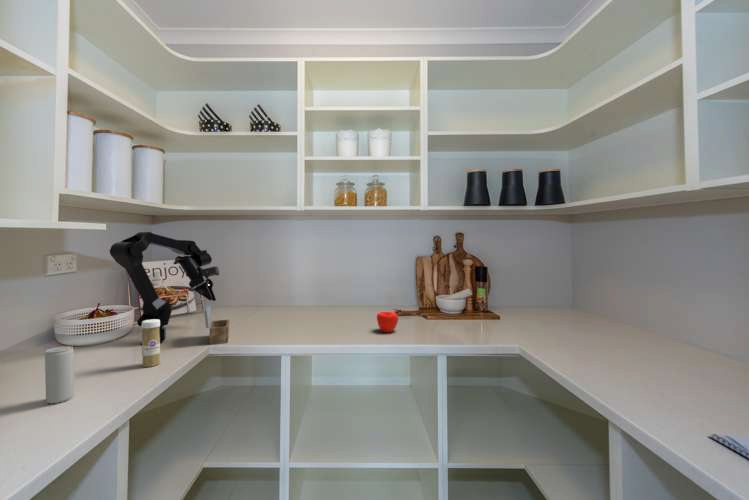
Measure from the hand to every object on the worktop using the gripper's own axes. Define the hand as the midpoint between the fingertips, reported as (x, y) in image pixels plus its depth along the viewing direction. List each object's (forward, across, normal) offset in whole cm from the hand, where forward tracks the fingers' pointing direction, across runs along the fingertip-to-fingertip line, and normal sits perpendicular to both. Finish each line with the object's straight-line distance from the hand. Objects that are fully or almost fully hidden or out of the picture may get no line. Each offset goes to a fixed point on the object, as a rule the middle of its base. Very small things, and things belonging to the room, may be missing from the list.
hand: (213, 300), depth 135 cm
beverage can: (+7, -52, +33) cm, 62 cm away
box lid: (+6, -13, +3) cm, 15 cm away
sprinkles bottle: (+11, -33, +20) cm, 40 cm away
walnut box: (+15, -11, +4) cm, 20 cm away
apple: (+51, -19, -50) cm, 74 cm away
